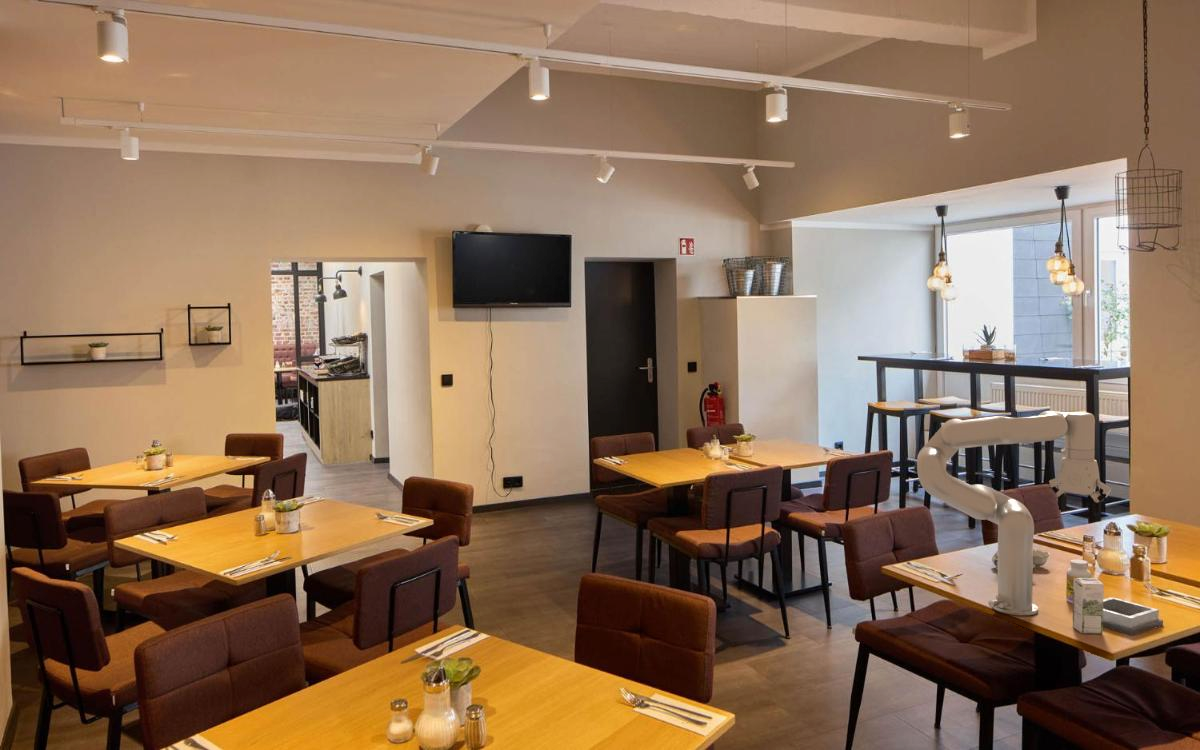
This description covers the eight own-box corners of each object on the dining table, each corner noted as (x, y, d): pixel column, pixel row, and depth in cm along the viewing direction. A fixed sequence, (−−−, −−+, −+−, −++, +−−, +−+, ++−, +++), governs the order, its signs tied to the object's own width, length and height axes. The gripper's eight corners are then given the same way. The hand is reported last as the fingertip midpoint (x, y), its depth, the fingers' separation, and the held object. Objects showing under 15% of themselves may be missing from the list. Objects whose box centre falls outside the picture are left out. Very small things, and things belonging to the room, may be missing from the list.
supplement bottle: (1062, 598, 267) (1062, 558, 267) (1084, 598, 267) (1084, 558, 266) (1072, 605, 261) (1073, 564, 260) (1095, 605, 260) (1095, 564, 260)
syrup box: (1093, 627, 243) (1094, 576, 242) (1103, 634, 237) (1104, 583, 236) (1072, 626, 243) (1072, 576, 242) (1081, 634, 237) (1082, 583, 236)
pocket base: (1132, 635, 236) (1132, 619, 235) (1079, 619, 249) (1079, 604, 248) (1162, 625, 243) (1163, 609, 242) (1110, 610, 256) (1110, 595, 256)
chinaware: (1034, 590, 282) (1040, 541, 280) (980, 576, 292) (986, 529, 290) (1050, 569, 304) (1055, 524, 302) (999, 558, 314) (1005, 514, 312)
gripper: (1043, 452, 255) (1043, 509, 256) (1104, 459, 241) (1103, 519, 242) (1056, 450, 259) (1056, 505, 260) (1117, 456, 245) (1116, 515, 246)
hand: (1079, 512), depth 251 cm, fingers open, 9 cm apart
